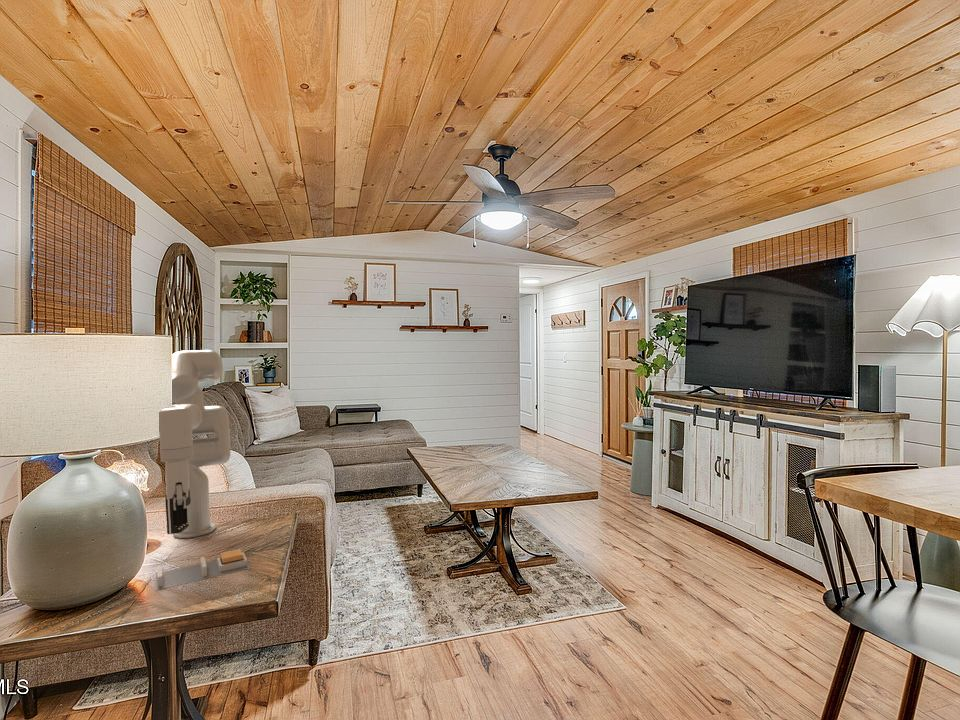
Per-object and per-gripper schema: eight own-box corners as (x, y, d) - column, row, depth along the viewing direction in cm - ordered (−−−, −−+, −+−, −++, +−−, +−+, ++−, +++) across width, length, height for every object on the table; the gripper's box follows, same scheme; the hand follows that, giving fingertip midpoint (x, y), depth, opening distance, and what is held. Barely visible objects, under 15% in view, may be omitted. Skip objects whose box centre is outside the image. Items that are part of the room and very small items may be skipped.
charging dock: (156, 578, 138) (155, 564, 138) (245, 558, 150) (244, 545, 150) (155, 596, 128) (155, 580, 128) (251, 573, 139) (250, 559, 139)
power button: (221, 557, 143) (220, 552, 143) (240, 552, 146) (240, 548, 146) (222, 563, 139) (222, 558, 139) (242, 558, 142) (242, 554, 142)
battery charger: (182, 534, 132) (180, 490, 132) (166, 535, 132) (164, 491, 132) (193, 525, 139) (191, 483, 139) (178, 526, 139) (176, 484, 138)
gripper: (160, 450, 141) (163, 514, 141) (160, 461, 126) (163, 532, 126) (191, 447, 145) (194, 509, 145) (195, 457, 130) (198, 526, 130)
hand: (179, 519), depth 136 cm, fingers closed on battery charger, 7 cm apart
